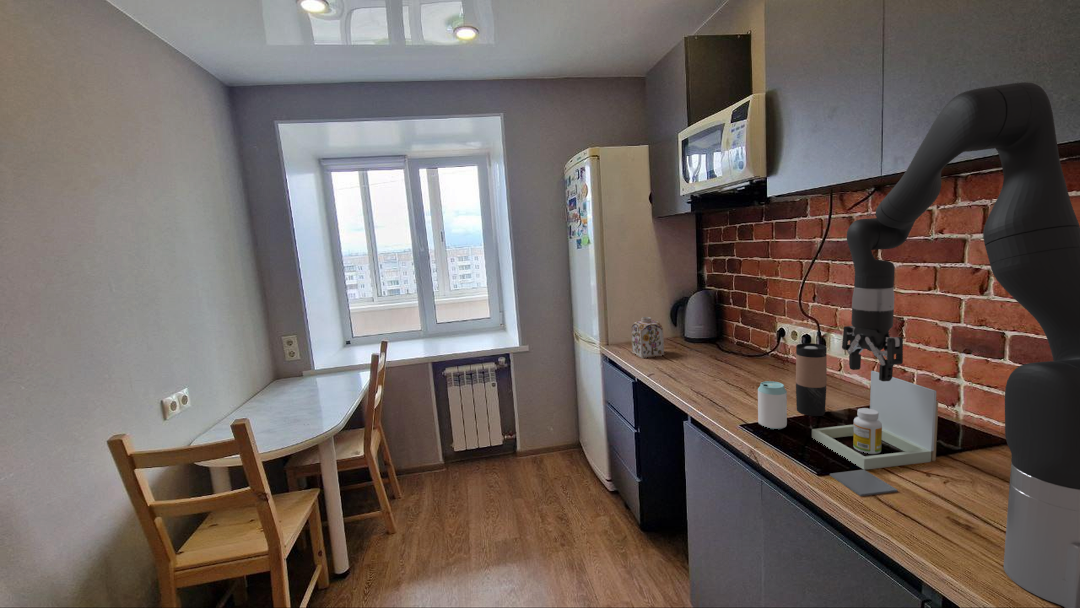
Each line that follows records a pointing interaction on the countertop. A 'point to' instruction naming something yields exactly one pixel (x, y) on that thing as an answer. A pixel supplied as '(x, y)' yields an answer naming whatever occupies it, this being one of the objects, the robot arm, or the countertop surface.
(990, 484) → the countertop surface
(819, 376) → the travel mug
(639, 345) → the decorative jar
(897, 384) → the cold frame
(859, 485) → the slate coaster
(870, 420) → the supplement bottle
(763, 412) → the can
